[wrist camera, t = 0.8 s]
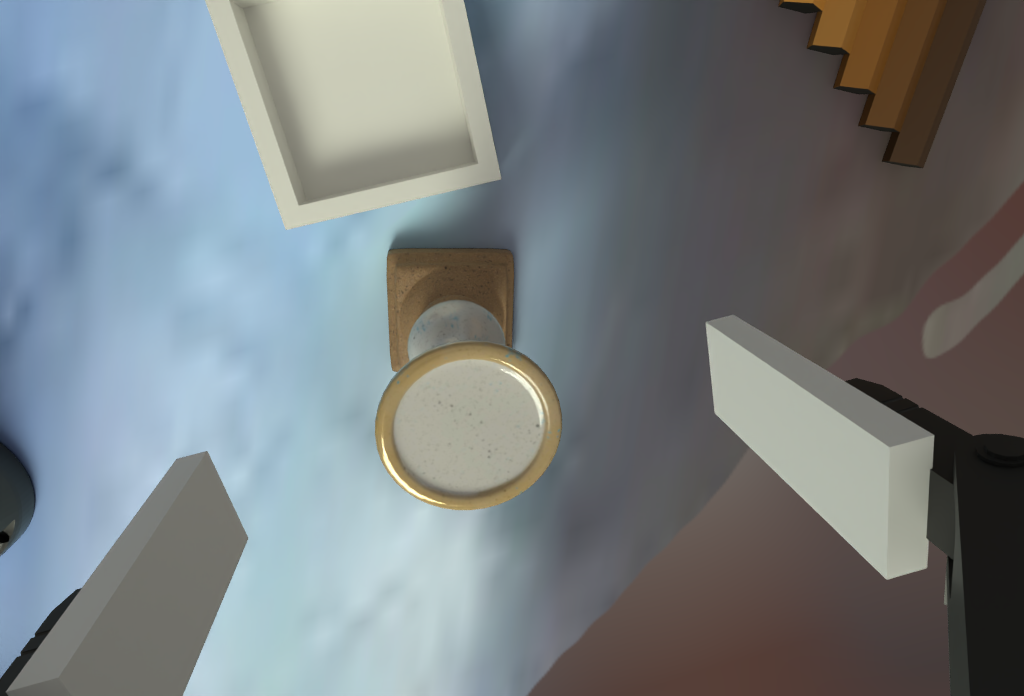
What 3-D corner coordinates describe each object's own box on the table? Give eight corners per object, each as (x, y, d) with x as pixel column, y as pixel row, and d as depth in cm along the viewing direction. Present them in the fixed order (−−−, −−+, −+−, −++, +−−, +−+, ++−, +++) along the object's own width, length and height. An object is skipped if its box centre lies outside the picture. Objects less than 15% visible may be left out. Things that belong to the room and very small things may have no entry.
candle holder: (386, 248, 52) (360, 338, 30) (512, 248, 53) (576, 334, 31) (391, 366, 56) (371, 524, 33) (508, 363, 57) (564, 512, 35)
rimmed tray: (297, 221, 50) (285, 229, 46) (218, -8, 44) (197, -23, 40) (495, 175, 51) (501, 179, 47) (445, -56, 45) (447, -75, 41)
